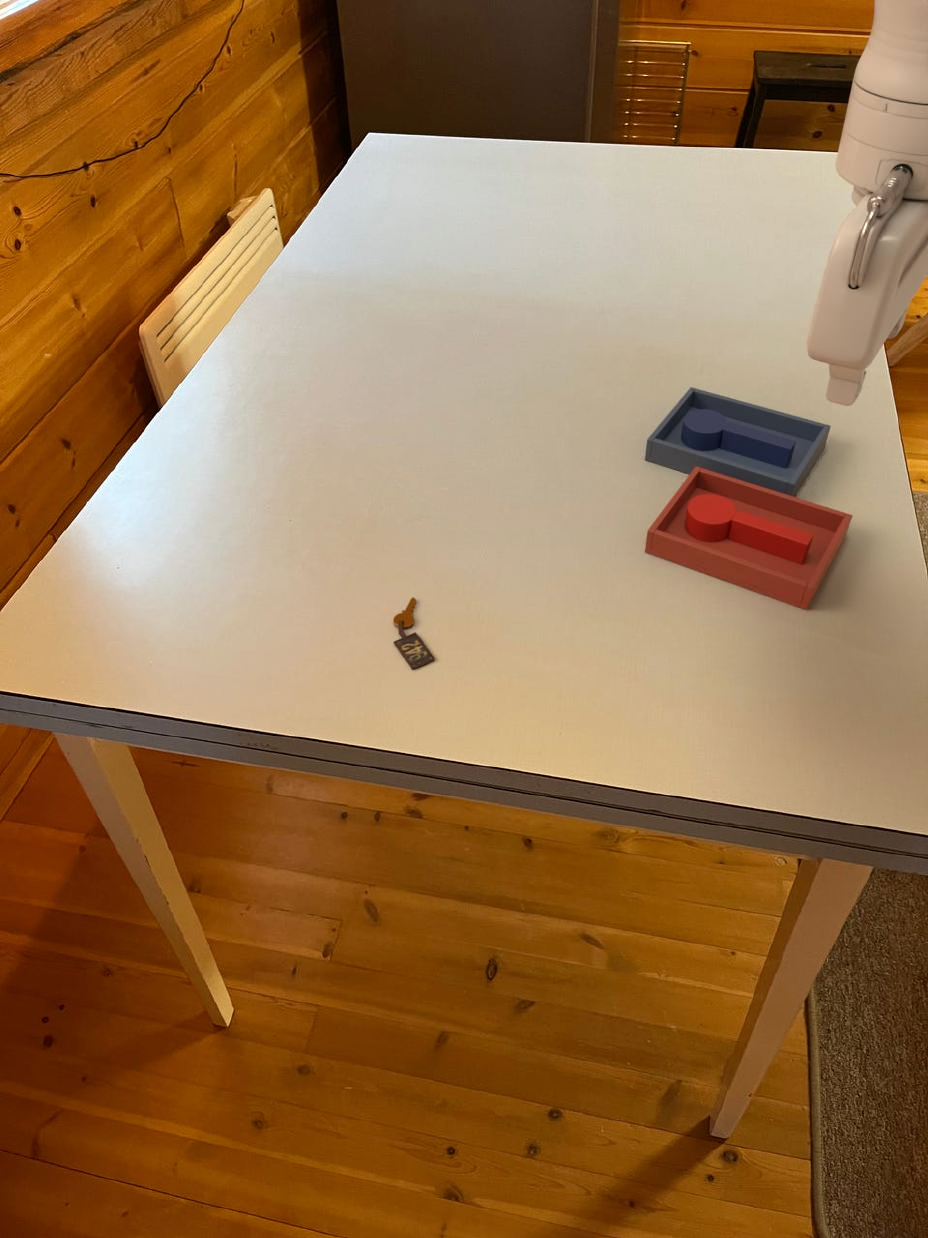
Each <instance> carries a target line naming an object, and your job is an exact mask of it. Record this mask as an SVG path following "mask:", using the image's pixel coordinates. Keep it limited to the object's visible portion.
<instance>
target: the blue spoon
mask: <svg viewBox="0 0 928 1238" xmlns="http://www.w3.org/2000/svg"><path fill="white" fill-rule="evenodd" d="M681 440H682V442H683V443H684V444H685V445H686V446H688V447H689V448H692V449H695V450H699V451H711V450H715V449H717V448H719V447H720V449H723V450H726V451H730V452H733V453H736V454H739V455H743V456H746V457H749V458H753V459H756V460H759V461H763V462H766V463H769V464H772V465H776V466H779V467H782V468H786V467H787V466H788V464H789V463H790V461H791V459H792V455H793V451H794V447H795V443H796V441H794V440H790V439H787V438H783V437H780V436H777V435H773V434H770V433H766V432H763V431H759V430H756V429H752V428H749V427H746V426H742V425H739V424H735V423H732V422H729V423H728V424H727V420H726V418H725V417H724V416H723V415H722V414H720V413H718V412H716V411H713V410H707V409H699V410H694V411H691V412H689V413H687V414H686V415H685V417H684V420H683V427H682V434H681Z"/></svg>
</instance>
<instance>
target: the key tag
mask: <svg viewBox="0 0 928 1238" xmlns="http://www.w3.org/2000/svg"><path fill="white" fill-rule="evenodd" d="M416 603H417V599H416V598H415V597H412V598H410V600H409V602H408V604H407V605H406V607H405V609H403V610H401V612H400V613H397V614H396V615H394V617H393V621H392V622H393V624H394V625H395V626H397V627H398V634H399V636H400V637H401V638H399V639H396V640H394V641H393V644H394V646H395V647H396V648H397V650H398V651H399V653H400V654H401V656H402V657H403V658H404V660H405V661H406V663H407V664H408V666H409V667H410V669H411V670H415V669H419V668H420V667H422V666H425V665H427V664H429V663H431V662H434V661H436V657H435V656H434V655H433V653H432V652H431V651H430V649H429V648H428V646H427V645H426V644H425V643H424V641H423V639H422V638H421V637H420V636H419V634H418V633H417V632H416V631H414V632H413V633H410V634H408V635H407V634H406V633H405V631H404V628H409V627H411V626H412V625H414V623H415V617H414V615H413V614H414V612H413V611H414V608H415V607H416Z"/></svg>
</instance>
